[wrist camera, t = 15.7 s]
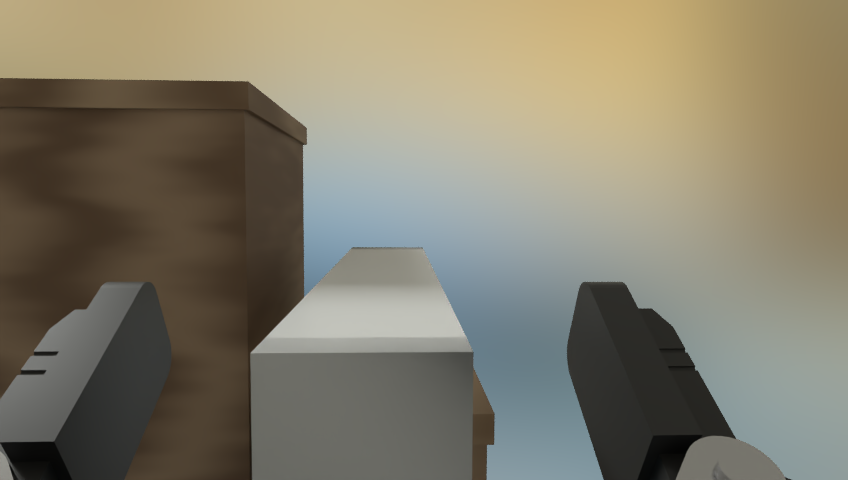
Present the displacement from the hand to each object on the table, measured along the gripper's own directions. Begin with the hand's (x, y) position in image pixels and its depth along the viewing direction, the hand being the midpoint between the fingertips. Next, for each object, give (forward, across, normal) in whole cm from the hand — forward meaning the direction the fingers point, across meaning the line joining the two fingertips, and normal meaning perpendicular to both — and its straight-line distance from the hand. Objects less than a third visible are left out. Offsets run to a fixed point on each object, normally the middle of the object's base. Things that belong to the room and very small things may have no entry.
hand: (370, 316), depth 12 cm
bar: (+8, 0, +10) cm, 12 cm away
